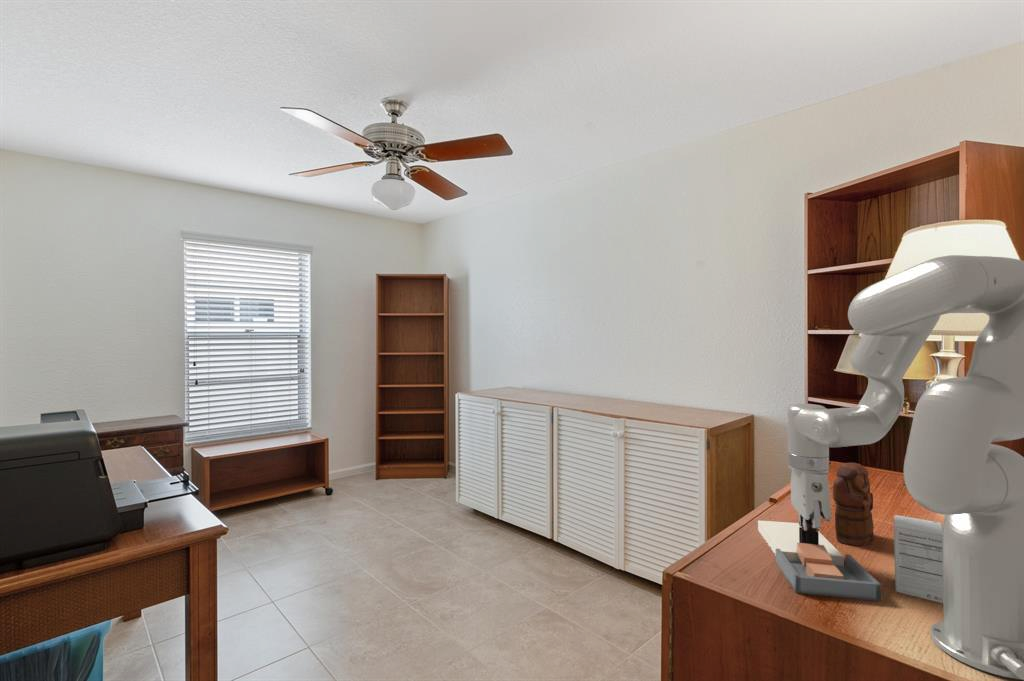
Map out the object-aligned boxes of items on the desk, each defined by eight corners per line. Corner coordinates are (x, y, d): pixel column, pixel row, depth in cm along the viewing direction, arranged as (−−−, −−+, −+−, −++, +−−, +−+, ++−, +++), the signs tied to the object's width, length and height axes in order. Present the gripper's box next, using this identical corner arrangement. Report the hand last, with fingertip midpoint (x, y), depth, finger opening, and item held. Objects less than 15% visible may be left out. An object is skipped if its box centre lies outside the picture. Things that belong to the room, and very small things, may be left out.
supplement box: (894, 576, 97) (894, 513, 97) (944, 588, 92) (943, 522, 92) (894, 591, 91) (893, 525, 91) (946, 605, 86) (946, 534, 86)
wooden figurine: (863, 550, 109) (862, 470, 109) (830, 541, 114) (830, 465, 114) (878, 536, 117) (877, 461, 117) (847, 528, 122) (846, 456, 121)
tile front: (843, 587, 92) (843, 576, 92) (814, 584, 93) (814, 573, 93) (834, 575, 97) (833, 564, 97) (805, 572, 98) (805, 561, 98)
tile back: (831, 569, 97) (832, 560, 97) (803, 566, 98) (804, 557, 98) (822, 554, 102) (823, 545, 101) (796, 551, 103) (797, 542, 103)
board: (843, 567, 101) (843, 556, 101) (780, 562, 104) (780, 551, 104) (811, 533, 118) (811, 524, 118) (758, 529, 121) (757, 520, 121)
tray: (881, 601, 88) (881, 584, 88) (796, 592, 91) (795, 577, 91) (849, 568, 100) (849, 554, 100) (775, 562, 104) (775, 548, 103)
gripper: (843, 472, 95) (843, 565, 95) (814, 454, 110) (815, 535, 110) (800, 470, 97) (801, 561, 97) (778, 453, 112) (778, 532, 112)
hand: (808, 547), depth 104 cm, fingers closed
